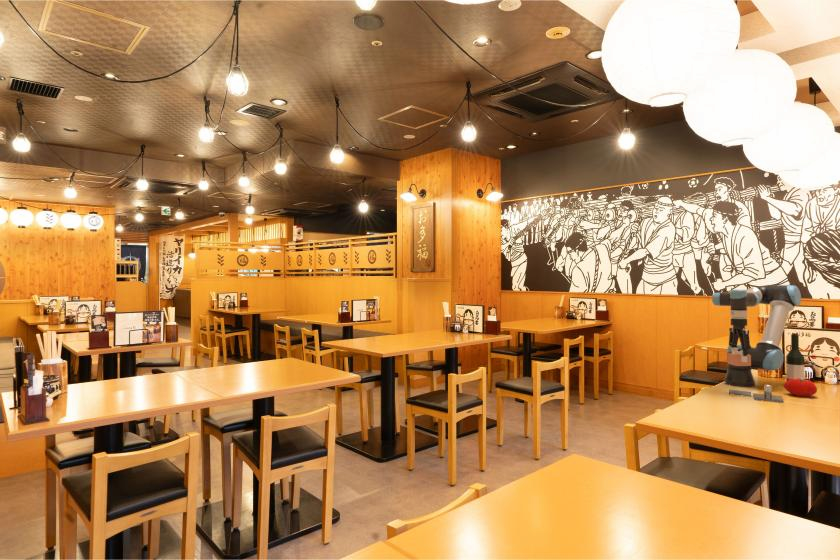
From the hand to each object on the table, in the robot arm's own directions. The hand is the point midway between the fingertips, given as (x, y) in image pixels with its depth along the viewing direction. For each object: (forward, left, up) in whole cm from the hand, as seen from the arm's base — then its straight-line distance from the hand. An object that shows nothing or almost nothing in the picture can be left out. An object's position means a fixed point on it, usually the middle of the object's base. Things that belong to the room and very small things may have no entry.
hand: (739, 360), depth 264 cm
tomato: (-11, +27, -18) cm, 34 cm away
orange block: (0, 0, -2) cm, 2 cm away
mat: (0, 0, -18) cm, 18 cm away
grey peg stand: (+7, +12, -18) cm, 22 cm away
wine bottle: (-39, +27, -18) cm, 51 cm away
